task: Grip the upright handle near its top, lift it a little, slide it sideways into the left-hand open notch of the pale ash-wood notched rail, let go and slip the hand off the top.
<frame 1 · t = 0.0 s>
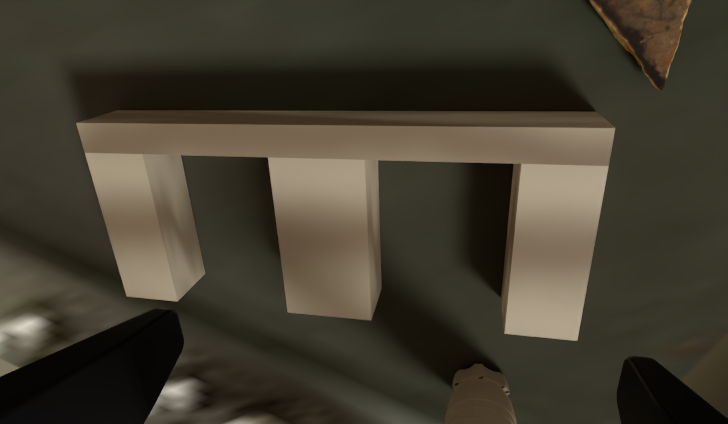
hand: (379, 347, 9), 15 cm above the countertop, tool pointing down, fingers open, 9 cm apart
handle: (479, 379, 28), on the countertop
notched rail: (337, 204, 25), on the countertop
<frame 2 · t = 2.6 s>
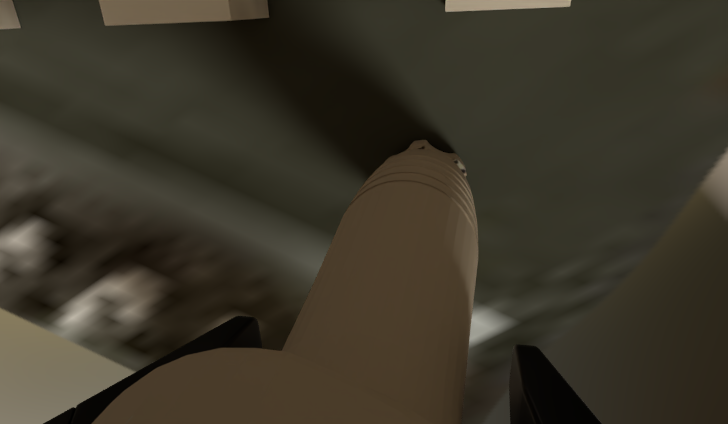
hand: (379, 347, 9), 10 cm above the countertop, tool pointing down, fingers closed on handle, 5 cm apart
handle: (425, 176, 18), on the countertop, touching gripper
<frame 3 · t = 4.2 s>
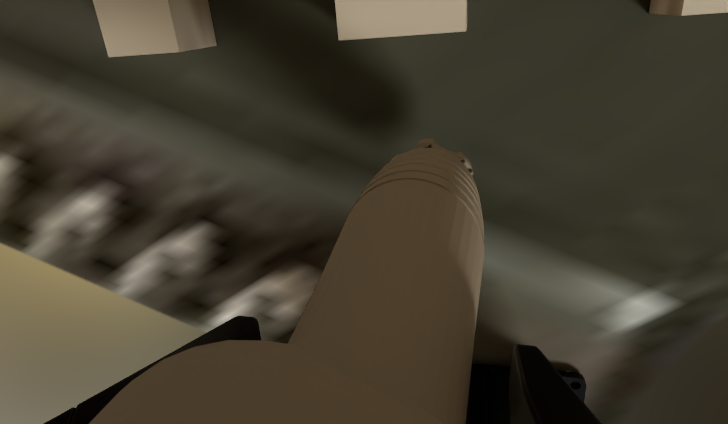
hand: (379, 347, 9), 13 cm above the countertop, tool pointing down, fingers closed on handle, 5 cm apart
handle: (432, 175, 18), point 3 cm above the countertop, touching gripper
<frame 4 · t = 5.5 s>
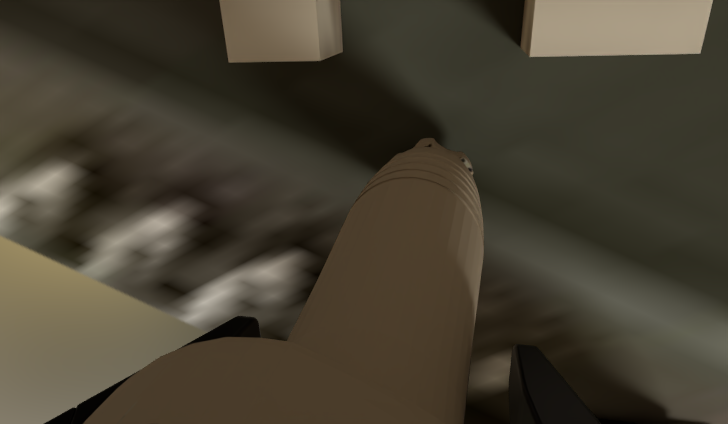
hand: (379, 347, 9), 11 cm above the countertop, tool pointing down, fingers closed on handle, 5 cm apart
handle: (432, 174, 18), point 1 cm above the countertop, touching gripper
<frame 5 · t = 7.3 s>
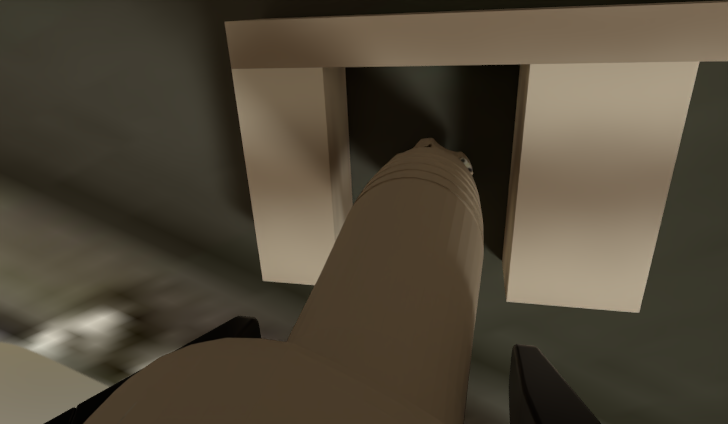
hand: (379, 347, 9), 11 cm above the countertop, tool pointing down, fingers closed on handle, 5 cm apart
handle: (432, 174, 18), point 1 cm above the countertop, touching gripper
notched rail: (574, 150, 18), on the countertop
when the fingers open (11 cm above the countertop, at t = 8.6 s): handle stays where it is, on the countertop.
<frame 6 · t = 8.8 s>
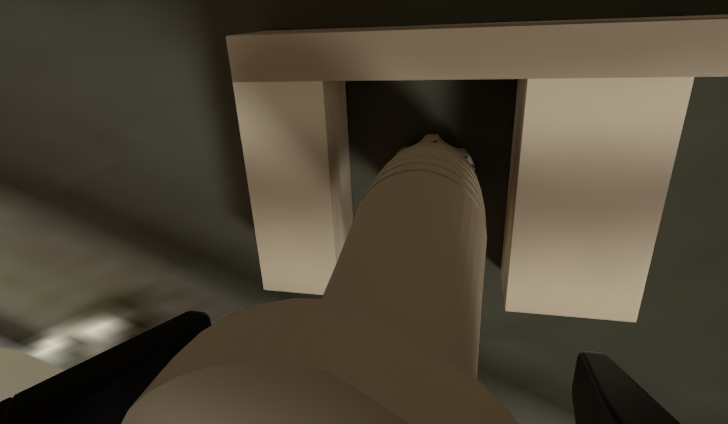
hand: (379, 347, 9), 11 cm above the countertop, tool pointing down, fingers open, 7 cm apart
handle: (434, 168, 19), on the countertop
notched rail: (572, 161, 18), on the countertop
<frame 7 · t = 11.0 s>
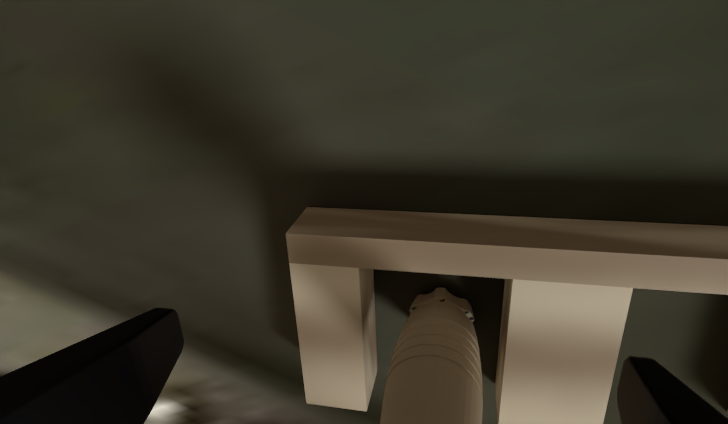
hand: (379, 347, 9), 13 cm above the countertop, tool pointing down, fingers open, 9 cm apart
handle: (442, 308, 24), on the countertop
notched rail: (550, 311, 23), on the countertop
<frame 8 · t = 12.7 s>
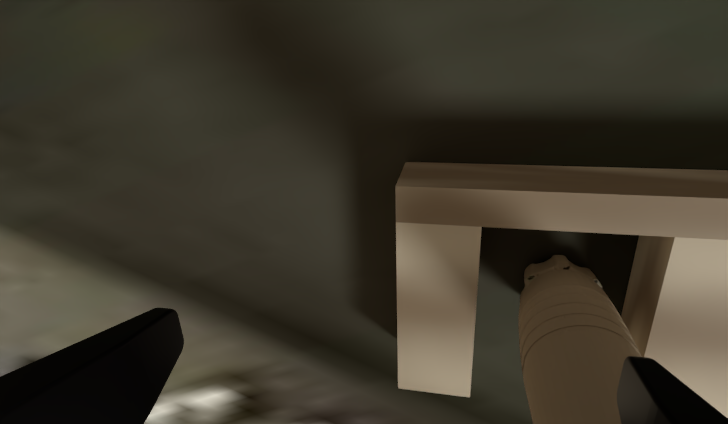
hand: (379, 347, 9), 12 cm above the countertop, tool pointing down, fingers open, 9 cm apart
handle: (554, 280, 21), on the countertop
notched rail: (687, 282, 20), on the countertop
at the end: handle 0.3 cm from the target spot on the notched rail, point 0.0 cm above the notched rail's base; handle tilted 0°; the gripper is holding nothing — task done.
